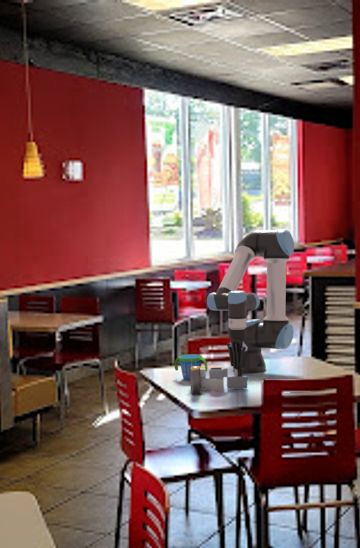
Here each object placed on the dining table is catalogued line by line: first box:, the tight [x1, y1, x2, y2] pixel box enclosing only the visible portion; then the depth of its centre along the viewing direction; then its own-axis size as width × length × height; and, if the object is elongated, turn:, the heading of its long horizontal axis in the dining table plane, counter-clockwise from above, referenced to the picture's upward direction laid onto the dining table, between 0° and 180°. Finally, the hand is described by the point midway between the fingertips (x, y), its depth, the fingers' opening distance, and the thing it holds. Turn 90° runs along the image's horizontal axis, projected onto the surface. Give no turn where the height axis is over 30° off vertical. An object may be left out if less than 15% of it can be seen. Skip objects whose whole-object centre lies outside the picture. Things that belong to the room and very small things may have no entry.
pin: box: [191, 366, 202, 396], centre depth 336 cm, size 4×4×11 cm
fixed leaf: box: [200, 369, 225, 392], centre depth 344 cm, size 6×13×9 cm, turn 86°
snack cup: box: [174, 353, 209, 381], centre depth 368 cm, size 16×10×10 cm
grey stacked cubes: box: [208, 366, 248, 390], centre depth 343 cm, size 16×6×8 cm, turn 88°
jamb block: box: [190, 366, 205, 391], centre depth 347 cm, size 5×6×9 cm
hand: (238, 384), depth 346 cm, fingers closed
